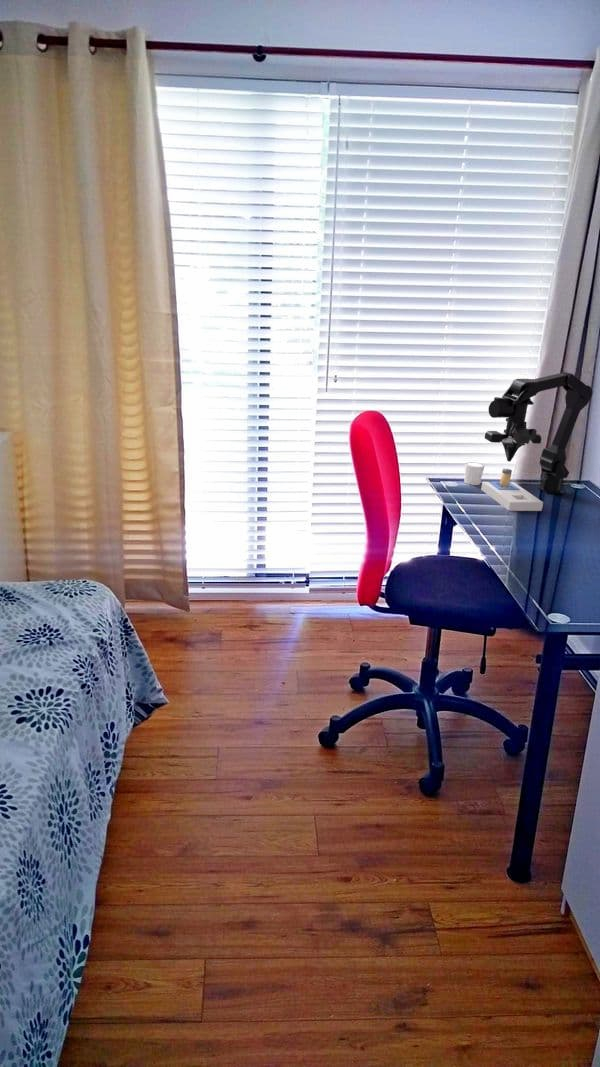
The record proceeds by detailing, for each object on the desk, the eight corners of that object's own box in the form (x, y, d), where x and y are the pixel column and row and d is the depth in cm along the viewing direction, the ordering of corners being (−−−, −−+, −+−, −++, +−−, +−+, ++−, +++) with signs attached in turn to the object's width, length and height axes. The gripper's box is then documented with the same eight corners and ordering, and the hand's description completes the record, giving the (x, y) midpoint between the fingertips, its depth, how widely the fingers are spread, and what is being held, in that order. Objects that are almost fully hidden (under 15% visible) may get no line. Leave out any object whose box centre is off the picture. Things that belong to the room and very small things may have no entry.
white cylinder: (458, 480, 287) (461, 462, 285) (473, 479, 290) (476, 461, 288) (470, 486, 282) (473, 467, 279) (485, 485, 284) (488, 466, 282)
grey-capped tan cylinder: (504, 492, 277) (509, 468, 274) (508, 495, 274) (513, 471, 271) (496, 492, 277) (501, 468, 273) (500, 495, 274) (505, 471, 270)
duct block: (511, 489, 281) (513, 481, 280) (541, 510, 261) (543, 501, 260) (481, 489, 279) (482, 480, 277) (508, 510, 259) (510, 501, 258)
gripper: (502, 422, 256) (494, 467, 262) (553, 423, 260) (544, 468, 266) (487, 414, 266) (480, 458, 272) (537, 415, 270) (529, 459, 276)
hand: (508, 461), depth 271 cm, fingers closed
